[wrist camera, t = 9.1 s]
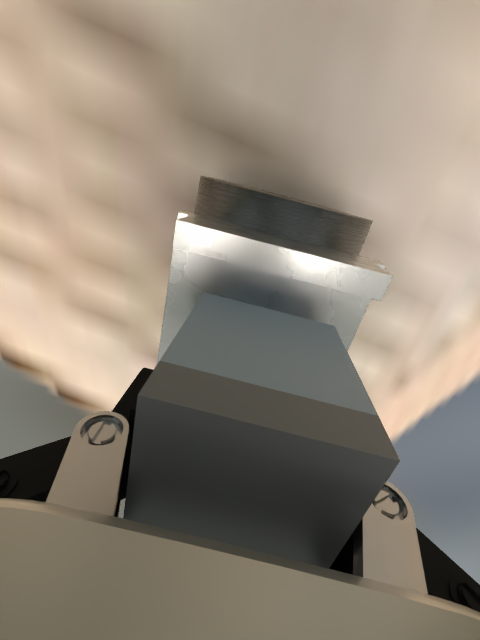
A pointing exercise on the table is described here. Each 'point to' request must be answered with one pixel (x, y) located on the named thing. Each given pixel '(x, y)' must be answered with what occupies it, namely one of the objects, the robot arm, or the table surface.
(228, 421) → the grey chamfered block
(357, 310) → the motor
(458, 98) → the table surface
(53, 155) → the table surface
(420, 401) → the table surface
